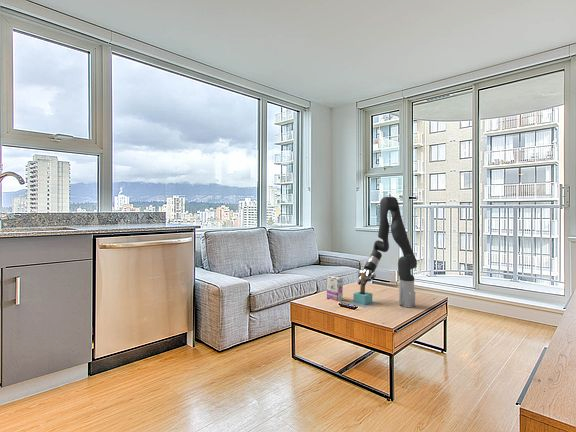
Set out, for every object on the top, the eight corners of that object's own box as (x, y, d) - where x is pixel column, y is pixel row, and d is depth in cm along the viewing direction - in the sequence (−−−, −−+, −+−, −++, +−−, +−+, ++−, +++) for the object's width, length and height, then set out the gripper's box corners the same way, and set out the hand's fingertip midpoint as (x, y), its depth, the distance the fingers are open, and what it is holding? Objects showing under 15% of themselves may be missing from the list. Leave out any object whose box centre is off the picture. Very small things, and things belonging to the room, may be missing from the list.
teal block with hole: (372, 302, 226) (372, 293, 226) (364, 305, 220) (364, 296, 220) (361, 299, 233) (361, 290, 233) (353, 302, 227) (353, 293, 227)
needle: (365, 293, 227) (366, 273, 226) (363, 294, 225) (363, 273, 224) (362, 292, 229) (362, 272, 228) (359, 293, 227) (359, 272, 226)
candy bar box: (342, 301, 232) (343, 278, 231) (337, 302, 229) (337, 279, 228) (331, 297, 241) (331, 275, 240) (326, 299, 238) (326, 276, 237)
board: (378, 304, 226) (378, 302, 226) (365, 309, 215) (365, 307, 215) (361, 299, 236) (361, 298, 236) (347, 304, 225) (347, 302, 225)
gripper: (361, 259, 236) (350, 279, 228) (378, 262, 226) (367, 283, 218) (365, 266, 240) (354, 285, 232) (382, 269, 229) (372, 289, 222)
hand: (361, 284), depth 225 cm, fingers closed on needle, 3 cm apart
